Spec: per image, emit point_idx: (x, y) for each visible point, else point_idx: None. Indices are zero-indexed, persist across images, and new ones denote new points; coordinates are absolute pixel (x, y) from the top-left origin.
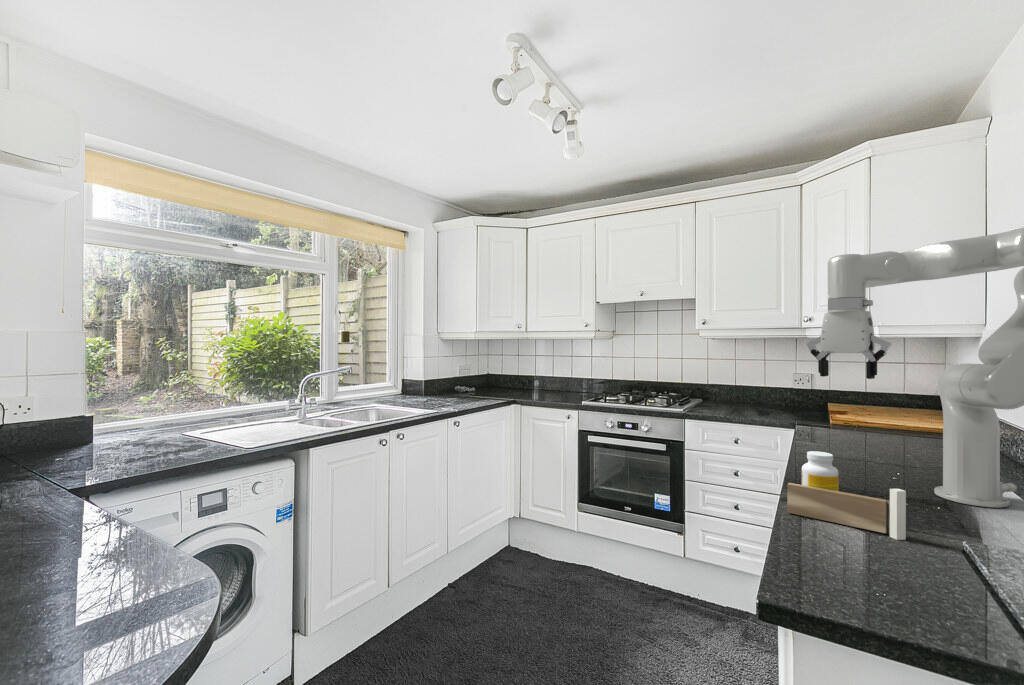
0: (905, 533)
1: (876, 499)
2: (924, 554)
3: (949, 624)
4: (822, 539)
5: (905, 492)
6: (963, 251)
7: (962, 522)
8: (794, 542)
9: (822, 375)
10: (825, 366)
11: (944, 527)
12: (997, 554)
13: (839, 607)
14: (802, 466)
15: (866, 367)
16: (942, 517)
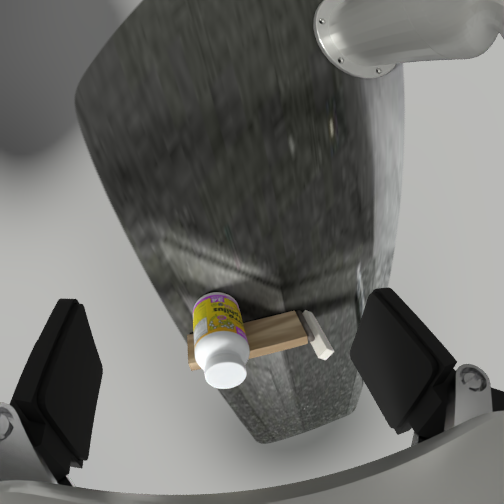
0: (314, 317)
1: (297, 343)
2: (327, 333)
3: (336, 405)
4: (250, 372)
5: (333, 350)
6: None
7: (360, 186)
8: (236, 392)
9: (98, 374)
10: (79, 401)
11: (343, 230)
12: (379, 279)
13: (290, 429)
14: (199, 365)
15: (378, 403)
16: (340, 182)
